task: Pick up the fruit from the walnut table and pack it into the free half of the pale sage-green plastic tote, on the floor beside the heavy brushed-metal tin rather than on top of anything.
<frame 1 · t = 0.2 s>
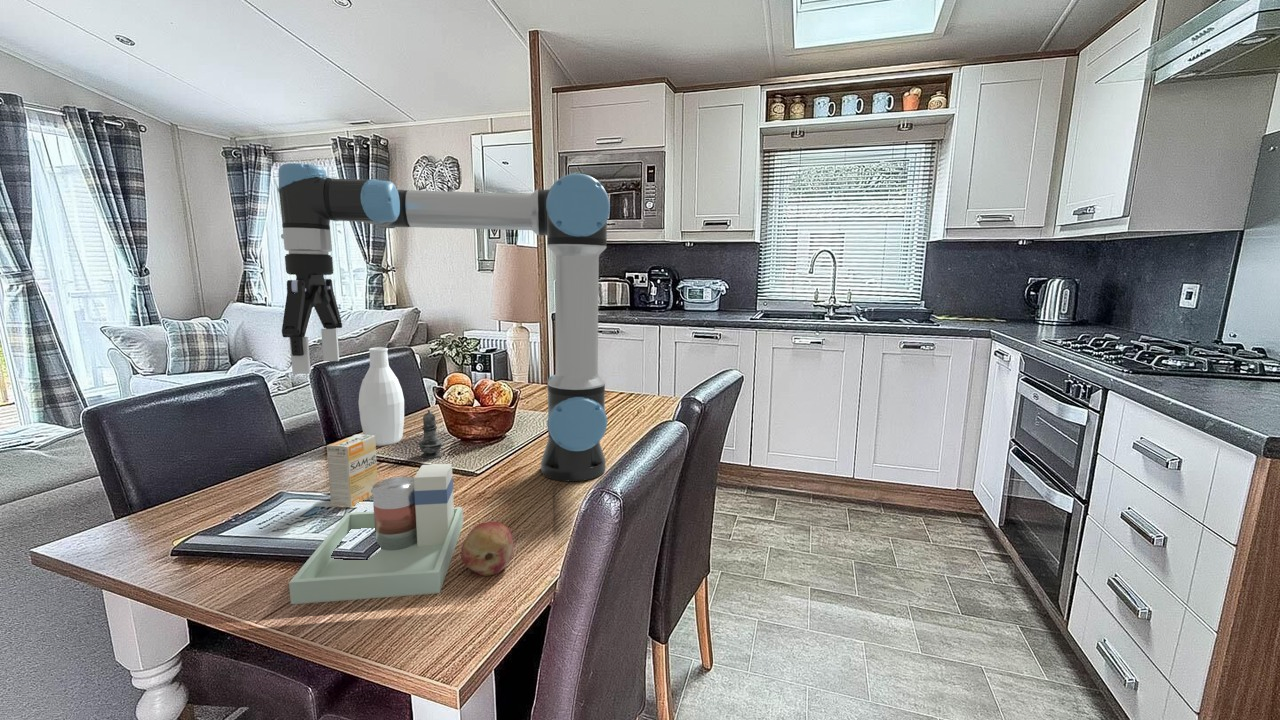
hand: (317, 367, 104), 28 cm above the table, fingers open, 13 cm apart
chess piece: (431, 456, 138), on the table
bottle: (384, 441, 149), on the table
tin: (399, 540, 94), point 1 cm above the table, touching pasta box, tote
fruit: (489, 573, 86), on the table
supplement box: (356, 503, 110), on the table
tote: (389, 562, 88), on the table
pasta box: (436, 536, 95), point 1 cm above the table, touching tin, tote
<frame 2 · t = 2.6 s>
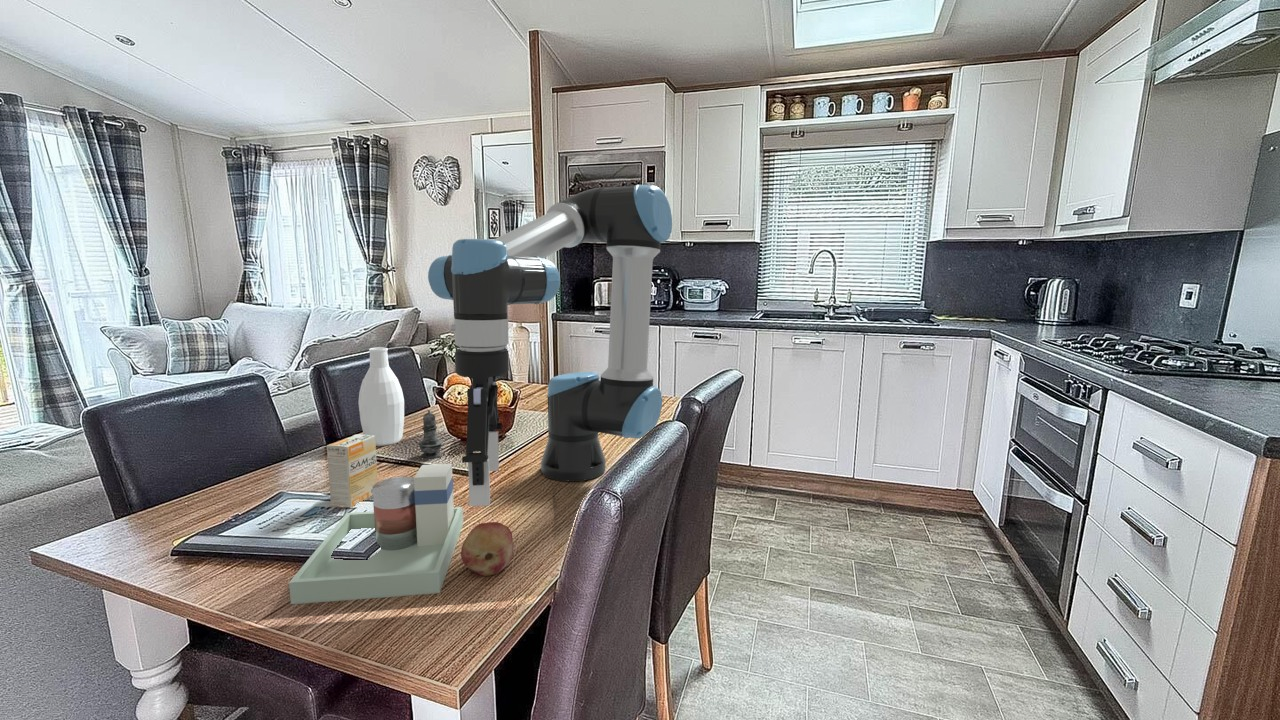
hand: (485, 486, 83), 14 cm above the table, fingers open, 13 cm apart
nothing on the table moved.
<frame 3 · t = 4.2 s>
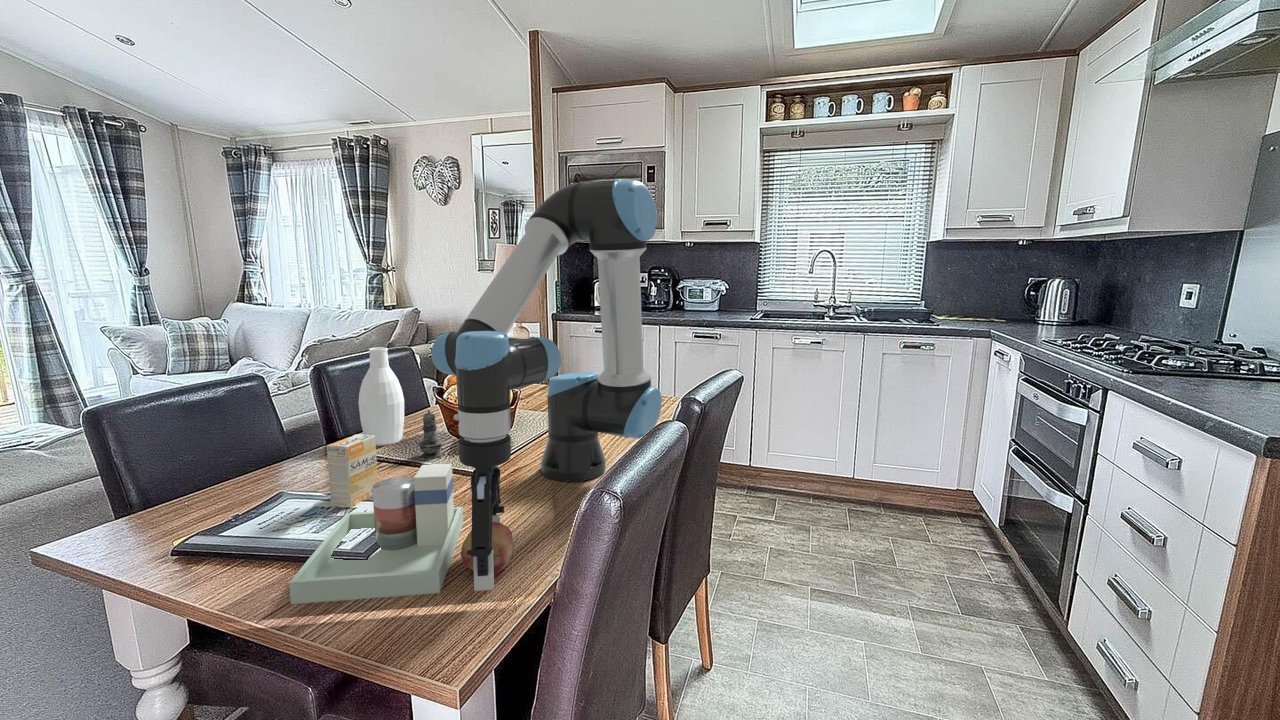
hand: (488, 571, 86), 0 cm above the table, fingers open, 11 cm apart
nothing on the table moved.
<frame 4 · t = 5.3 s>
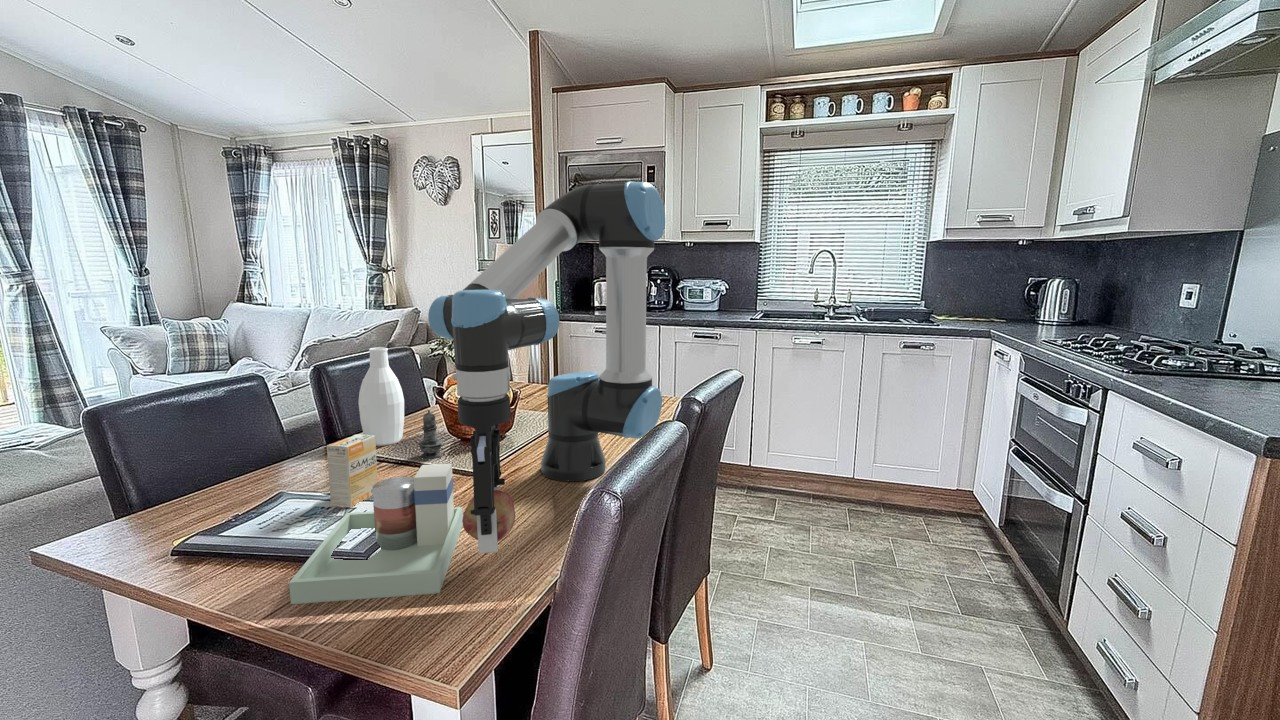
hand: (491, 537, 85), 5 cm above the table, fingers closed on fruit, 7 cm apart
fruit: (491, 541, 85), point 5 cm above the table, touching gripper
everything else where it was.
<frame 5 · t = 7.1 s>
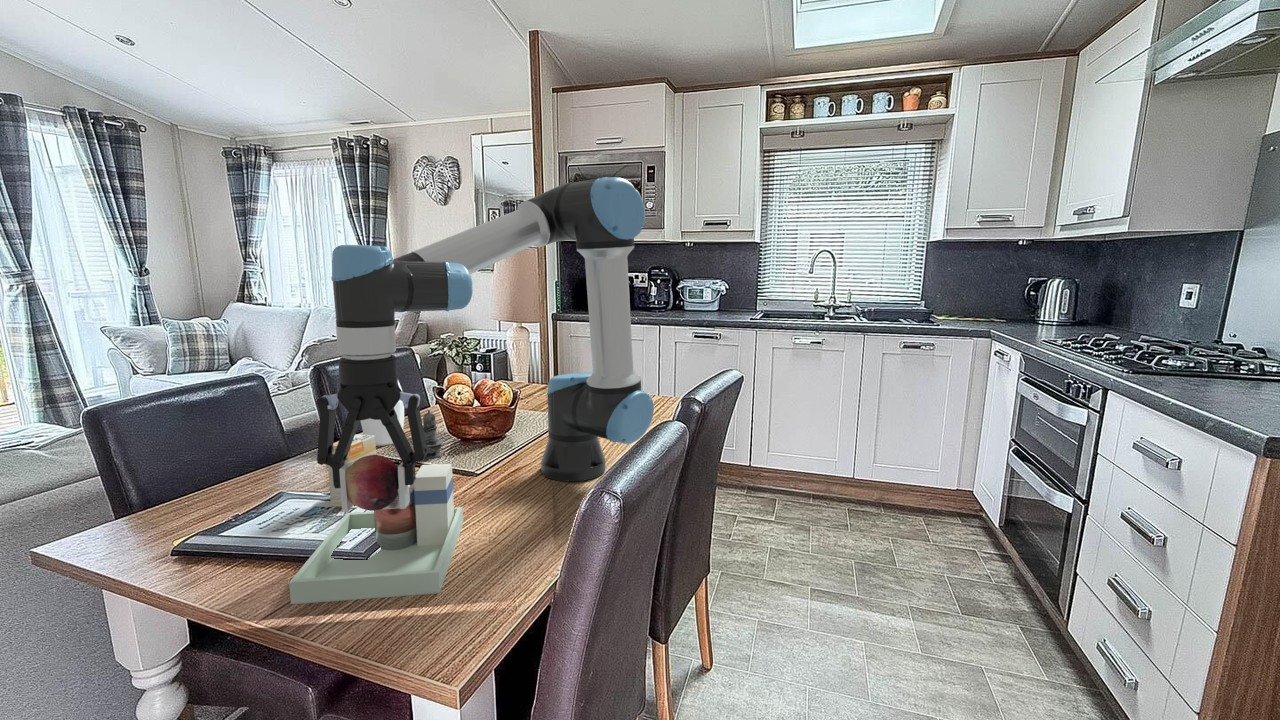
hand: (376, 506, 82), 11 cm above the table, fingers closed on fruit, 7 cm apart
fruit: (375, 509, 82), point 11 cm above the table, touching gripper
everything else where it was.
when the fingers open (3 cm above the table, at t = 8.9 s): fruit drops 2 cm, resting on tote.
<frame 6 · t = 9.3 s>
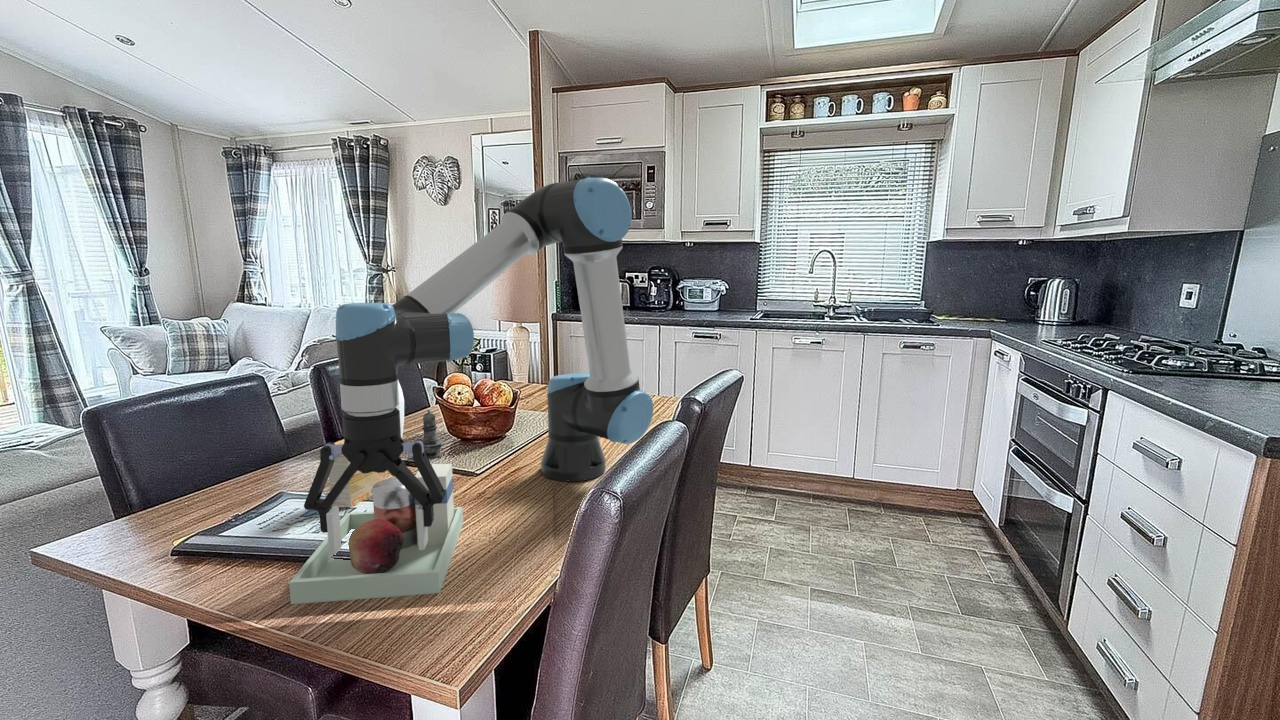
hand: (380, 548, 83), 5 cm above the table, fingers open, 12 cm apart
fruit: (377, 572, 84), point 1 cm above the table, touching tote
everything else where it was.
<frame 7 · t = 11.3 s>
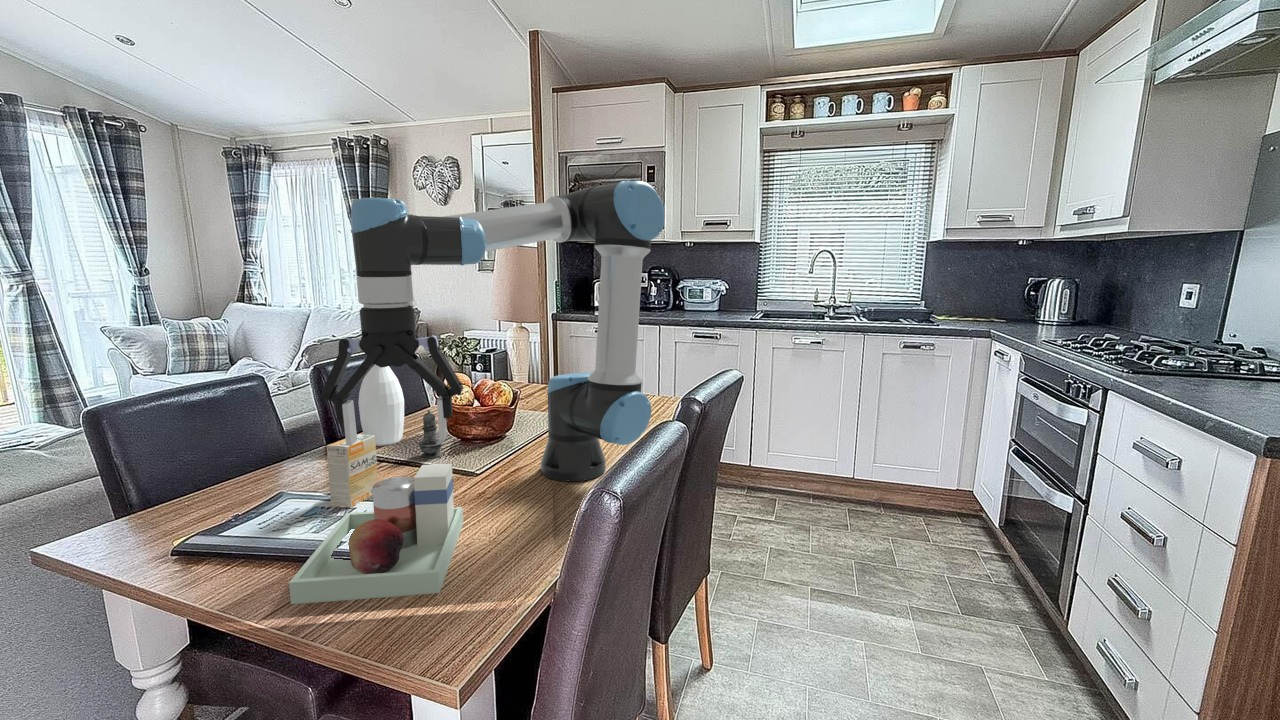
hand: (398, 440, 86), 20 cm above the table, fingers open, 13 cm apart
nothing on the table moved.
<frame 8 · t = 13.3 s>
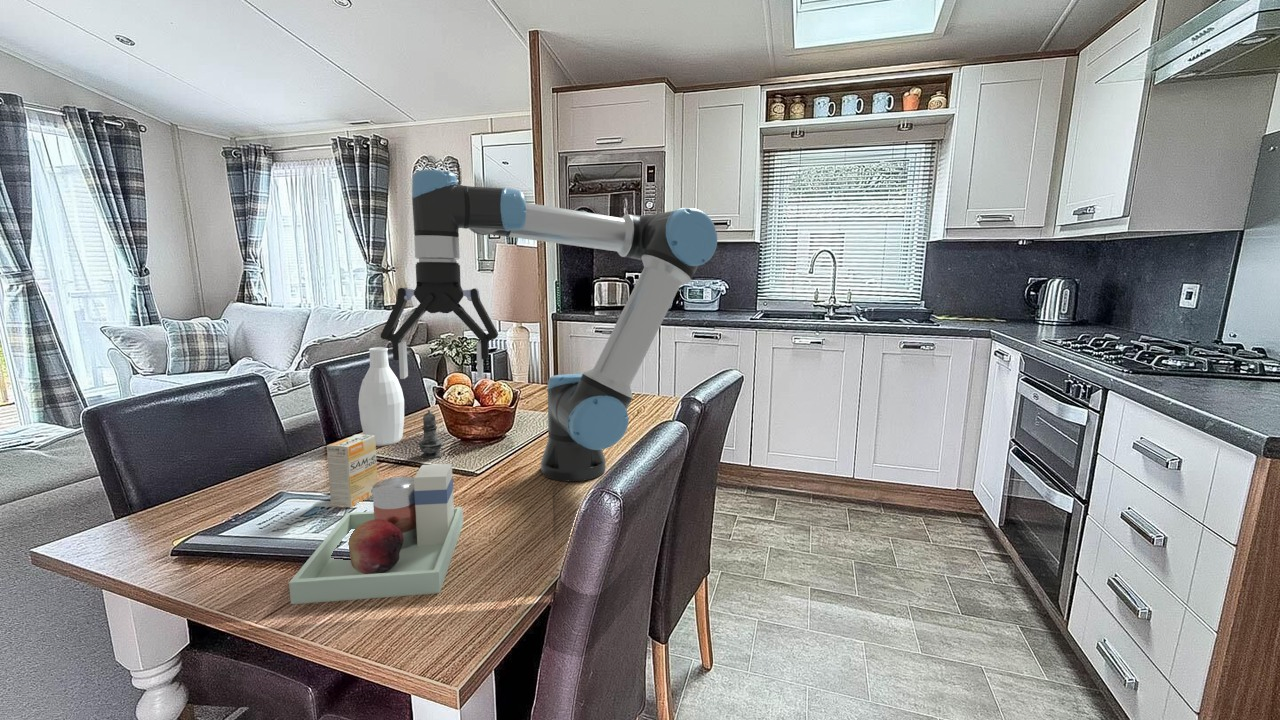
hand: (442, 377, 102), 27 cm above the table, fingers open, 13 cm apart
nothing on the table moved.
at the end: fruit inside the target area (3.9 cm from its centre), point 0.6 cm above the table; the gripper is holding nothing; tin moved 0.0 cm from its start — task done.
